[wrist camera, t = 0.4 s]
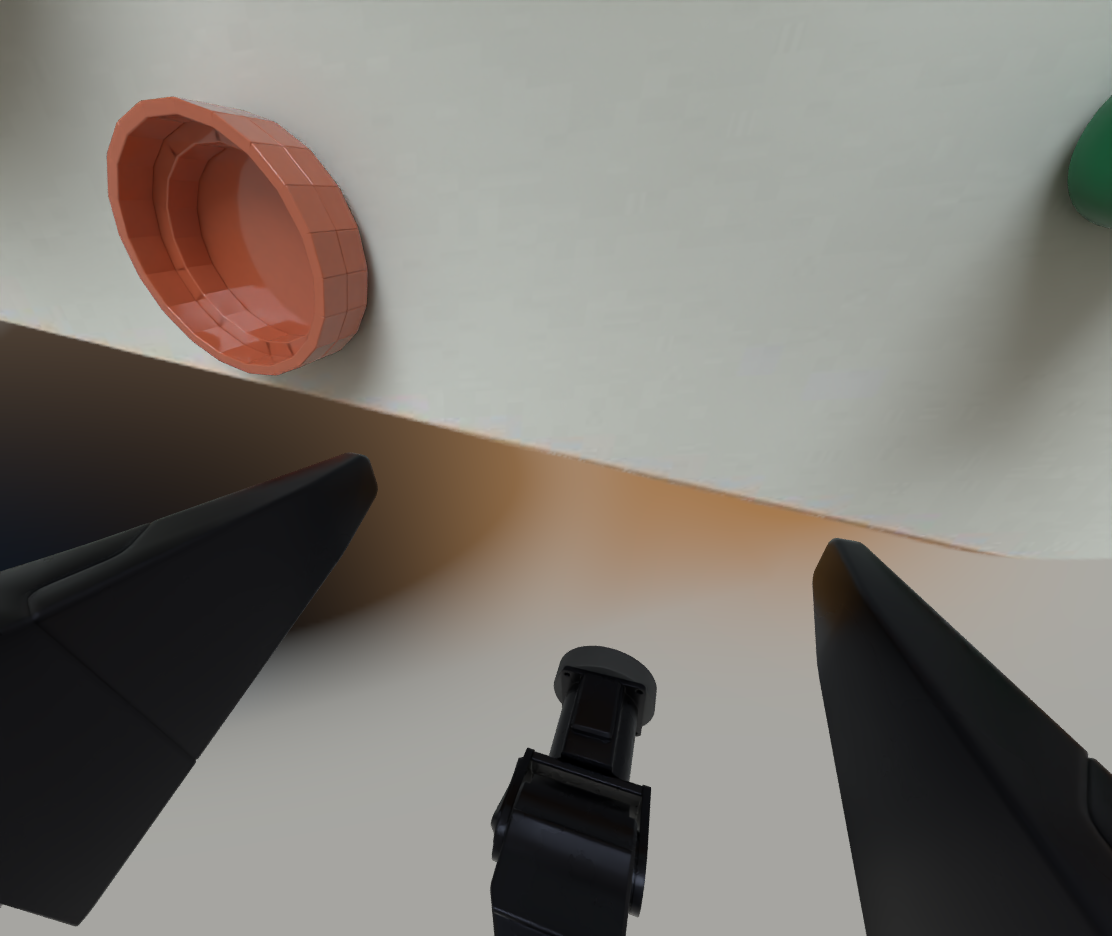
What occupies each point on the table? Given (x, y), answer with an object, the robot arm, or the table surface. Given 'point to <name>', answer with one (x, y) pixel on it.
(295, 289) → the dish
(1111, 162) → the soda can
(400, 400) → the table surface
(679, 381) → the table surface
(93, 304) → the table surface
